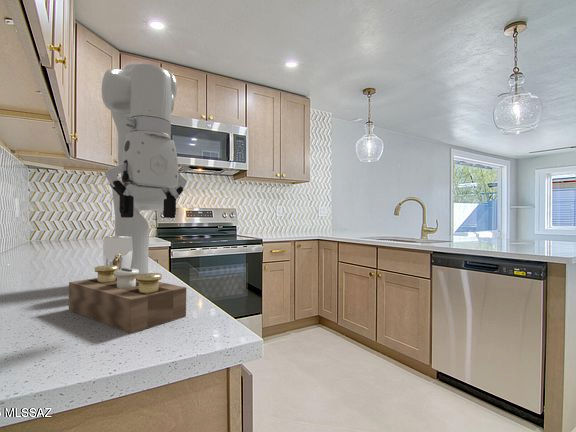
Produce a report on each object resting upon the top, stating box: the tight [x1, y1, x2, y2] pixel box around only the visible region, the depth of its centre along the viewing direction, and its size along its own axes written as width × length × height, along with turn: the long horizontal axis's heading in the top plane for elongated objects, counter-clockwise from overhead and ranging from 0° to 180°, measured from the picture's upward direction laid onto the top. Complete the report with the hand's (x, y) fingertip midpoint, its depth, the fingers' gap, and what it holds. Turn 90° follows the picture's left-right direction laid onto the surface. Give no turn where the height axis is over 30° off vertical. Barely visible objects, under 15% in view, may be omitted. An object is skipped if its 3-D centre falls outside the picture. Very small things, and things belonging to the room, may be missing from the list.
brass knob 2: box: [136, 272, 163, 295], centre depth 64 cm, size 5×5×6 cm
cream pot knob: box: [114, 268, 139, 289], centre depth 69 cm, size 5×5×6 cm
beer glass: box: [102, 235, 133, 270], centre depth 85 cm, size 7×7×15 cm
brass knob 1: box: [94, 265, 119, 284], centre depth 73 cm, size 5×5×6 cm
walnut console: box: [68, 276, 187, 334], centre depth 69 cm, size 24×12×6 cm, turn 57°
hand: (149, 217), depth 64 cm, fingers open, 8 cm apart
